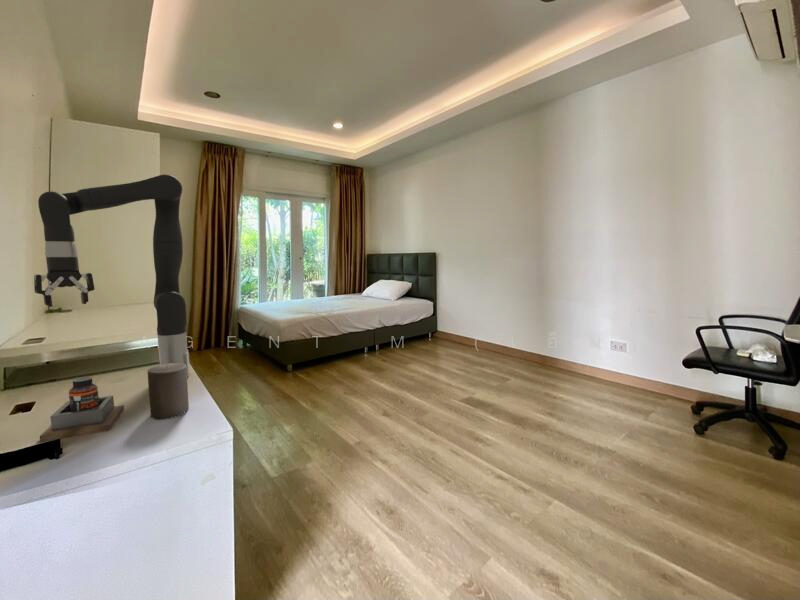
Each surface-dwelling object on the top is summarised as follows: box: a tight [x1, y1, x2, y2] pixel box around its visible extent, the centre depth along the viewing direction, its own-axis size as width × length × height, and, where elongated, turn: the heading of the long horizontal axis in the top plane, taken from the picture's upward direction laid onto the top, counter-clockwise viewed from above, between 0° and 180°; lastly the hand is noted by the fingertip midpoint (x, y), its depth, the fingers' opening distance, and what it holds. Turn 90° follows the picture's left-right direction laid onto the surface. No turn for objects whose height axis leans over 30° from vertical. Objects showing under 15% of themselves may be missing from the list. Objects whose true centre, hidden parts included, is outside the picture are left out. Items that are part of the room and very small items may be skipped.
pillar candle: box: [147, 363, 190, 420], centre depth 105 cm, size 10×10×15 cm
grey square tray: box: [50, 395, 115, 431], centre depth 98 cm, size 10×10×4 cm
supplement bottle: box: [68, 376, 99, 412], centre depth 98 cm, size 6×6×11 cm
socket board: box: [39, 405, 125, 442], centre depth 98 cm, size 14×14×2 cm
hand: (67, 305), depth 118 cm, fingers open, 8 cm apart
